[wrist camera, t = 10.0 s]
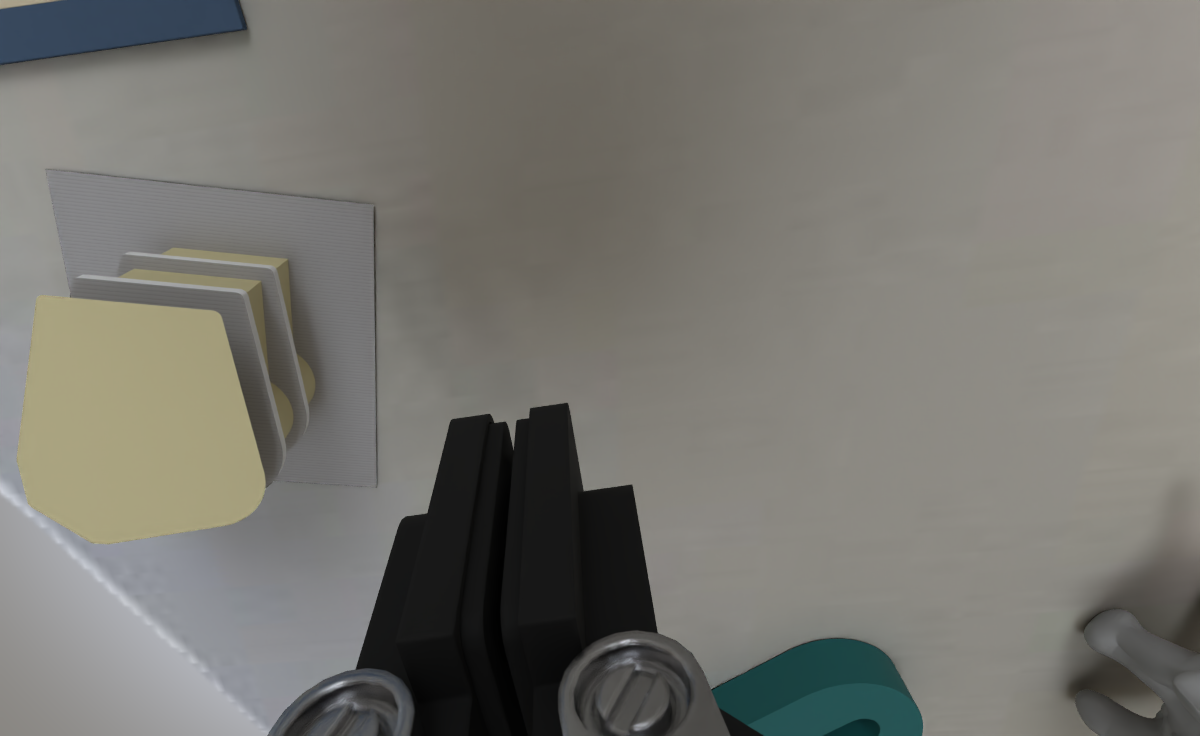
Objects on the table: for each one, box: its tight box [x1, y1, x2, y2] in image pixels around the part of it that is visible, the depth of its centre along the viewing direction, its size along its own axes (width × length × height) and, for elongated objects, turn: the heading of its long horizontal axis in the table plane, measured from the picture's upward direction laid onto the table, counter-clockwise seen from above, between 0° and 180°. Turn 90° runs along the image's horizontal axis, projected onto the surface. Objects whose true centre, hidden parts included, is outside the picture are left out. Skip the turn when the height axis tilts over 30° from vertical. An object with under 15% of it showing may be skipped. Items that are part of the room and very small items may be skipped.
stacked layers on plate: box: [17, 169, 377, 544], centre depth 20 cm, size 10×9×6 cm
